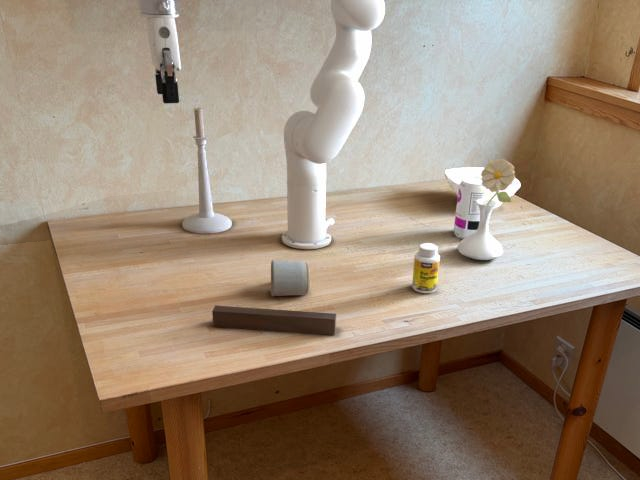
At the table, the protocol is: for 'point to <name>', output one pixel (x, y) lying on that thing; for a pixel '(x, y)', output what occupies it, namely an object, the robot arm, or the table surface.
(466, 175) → the bowl
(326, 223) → the robot arm
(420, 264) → the supplement bottle
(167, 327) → the table surface
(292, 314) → the board
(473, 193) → the supplement can
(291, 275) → the ceramic mug
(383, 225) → the table surface
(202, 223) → the candlestick
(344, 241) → the table surface
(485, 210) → the flower in vase
